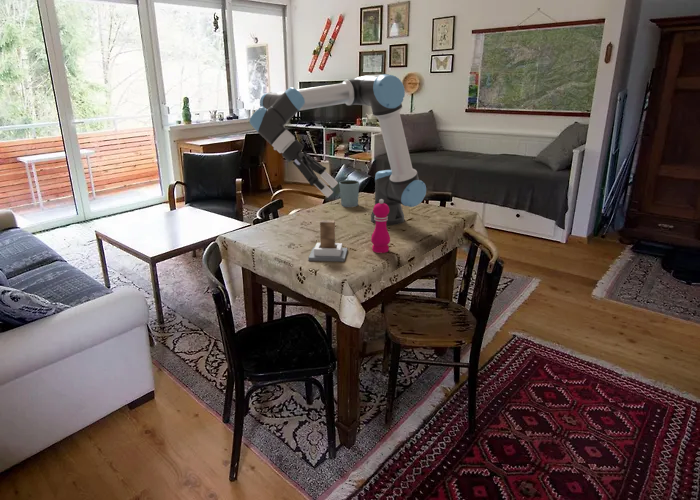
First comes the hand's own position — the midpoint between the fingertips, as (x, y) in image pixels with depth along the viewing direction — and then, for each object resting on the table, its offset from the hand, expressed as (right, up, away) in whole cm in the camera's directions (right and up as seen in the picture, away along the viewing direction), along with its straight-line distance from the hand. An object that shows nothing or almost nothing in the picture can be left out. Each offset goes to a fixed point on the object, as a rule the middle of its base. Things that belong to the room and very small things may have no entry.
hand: (333, 190), depth 163 cm
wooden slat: (-2, -22, +8) cm, 24 cm away
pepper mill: (+17, -21, +14) cm, 31 cm away
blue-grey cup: (+6, +2, +76) cm, 76 cm away
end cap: (-2, -23, +9) cm, 25 cm away
